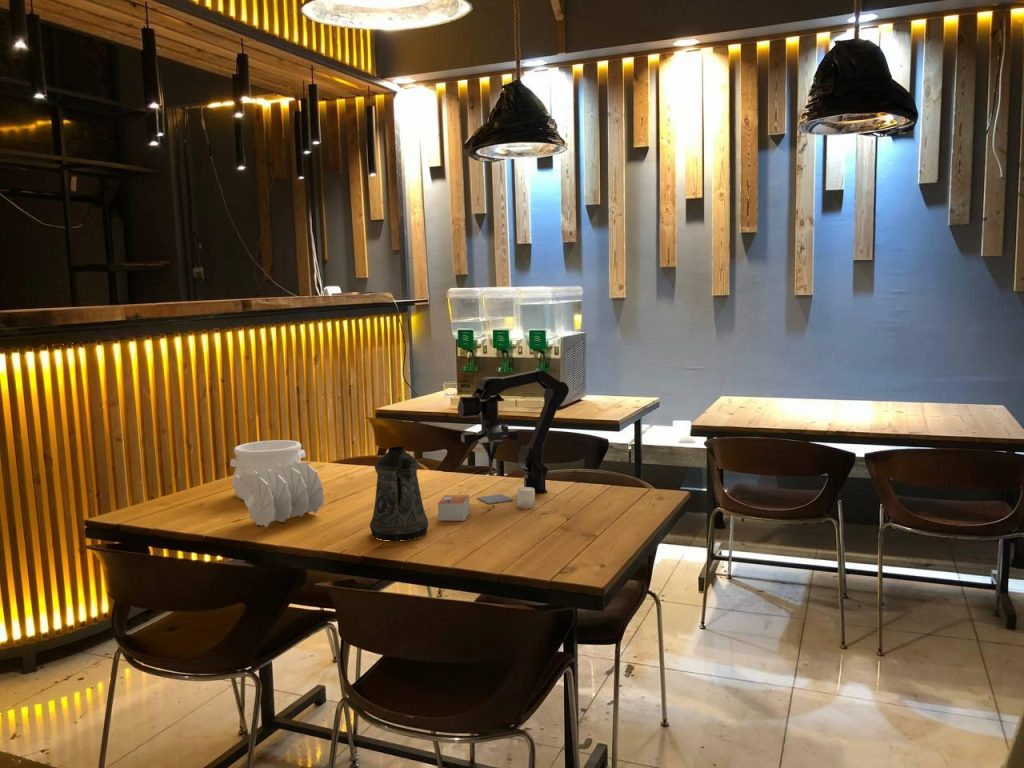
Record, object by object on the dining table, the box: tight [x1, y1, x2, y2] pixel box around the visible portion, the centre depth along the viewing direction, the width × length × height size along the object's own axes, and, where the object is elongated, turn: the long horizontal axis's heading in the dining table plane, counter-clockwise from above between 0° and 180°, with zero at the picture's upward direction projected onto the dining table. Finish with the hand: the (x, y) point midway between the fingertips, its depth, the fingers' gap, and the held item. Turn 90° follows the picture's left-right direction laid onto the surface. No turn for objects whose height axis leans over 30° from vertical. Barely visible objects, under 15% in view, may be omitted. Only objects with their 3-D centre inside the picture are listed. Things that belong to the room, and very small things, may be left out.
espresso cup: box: [516, 486, 536, 510], centre depth 264 cm, size 6×8×6 cm
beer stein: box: [369, 446, 429, 541], centre depth 234 cm, size 16×19×25 cm
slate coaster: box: [476, 493, 514, 505], centre depth 272 cm, size 9×9×1 cm
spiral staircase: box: [232, 460, 326, 528], centre depth 253 cm, size 18×18×25 cm
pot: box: [230, 439, 306, 501], centre depth 286 cm, size 26×24×18 cm
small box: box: [437, 494, 471, 522], centre depth 253 cm, size 8×6×10 cm
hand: (490, 461), depth 275 cm, fingers closed
